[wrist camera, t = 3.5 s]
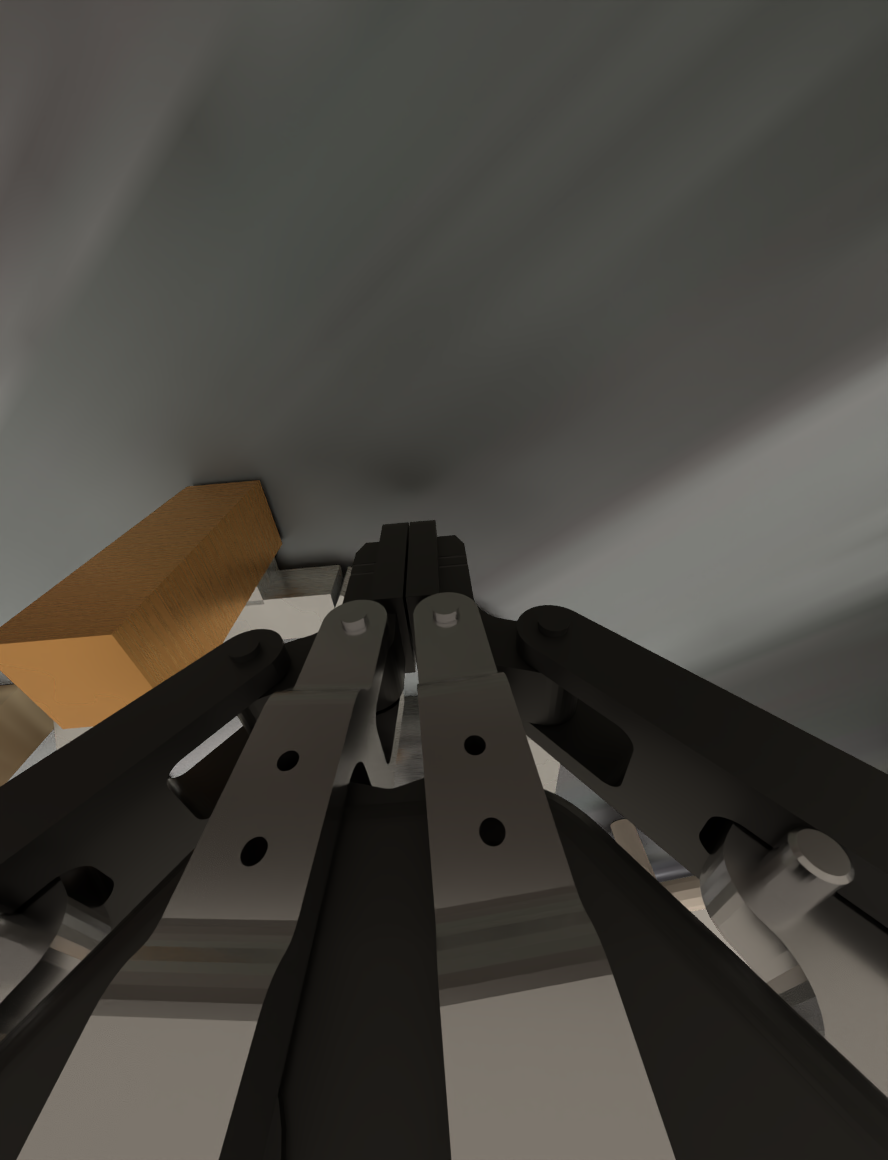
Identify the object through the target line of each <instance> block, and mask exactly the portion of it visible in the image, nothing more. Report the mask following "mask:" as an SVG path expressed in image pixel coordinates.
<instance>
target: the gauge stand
mask: <svg viewBox="0 0 888 1160" xmlns="http://www.w3.org/2000/svg"><path fill="white" fill-rule="evenodd" d="M53 729H54V723H53V720H52V719H51V718H50V717H49V716H48V715H47V714H46V713H45V712H44V711H43V710H42V709H41V708H40V707H39V706H38V705H37V704H35V703H34V702H33V701H32V700H31V699H30V698H29V697H28V696H27V695H26V694H25V693H24V692H23V691H22V690H21V689H19V688H18V687H17V686H16V685H15V684H12V685H1V686H0V786H2V785H4V784H5V783H6V782H7V781H8V780H9V779H10V778H11V777H12V776H13V774H14V773H15V772H16V771H17V770H18V769H19V768H20V766H21V765H22V764H23V763H24V762H25V761H26V760H27V759H28V757H29V756H30V755H31V754H32V753H33V752H34V751H35V749H36V748H37V747H38V746H39V745H40V744H41V743H42V741H43V740H44V739H45V738H46V737H47V736H48V735H49V734H50V732H51V731H52V730H53Z"/></svg>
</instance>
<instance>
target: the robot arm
mask: <svg viewBox="0 0 888 1160" xmlns="http://www.w3.org/2000/svg"><path fill="white" fill-rule="evenodd" d="M415 662H416V663H417V669H418V678H419V684H417V691H418V705H419V717H420V730H421V743H422V755H423V768H424V778H422V779H419V780H416V781H413V782H410V783H408V784H405V785H402V786H399V787H396V788H395V787H394V776H395V766H396V759H397V751H398V744H399V737H400V729H401V722H402V715H403V708H404V694H403V689H404V677H405V673H411V672H415ZM236 716H238V718H239V719H240V721H241V723H242V724H243V726H242V727H241V728H240V729H239V730H238V731H236V732H235V733H234V734H233V735H231V736H230V737H229V738H228V739H227V740H225V741H224V742H223V743H222V744H220V745H219V746H218V747H217V748H216V749H214V750H213V751H212V752H211V753H209V754H208V755H207V756H206V757H205V758H203V759H202V760H201V761H200V762H198V763H197V764H196V765H195V766H194V767H192V768H191V769H190V770H189V771H187V772H186V773H184V774H183V775H181V776H179V777H176V778H168V776H169V773H170V772H171V770H172V769H173V767H174V766H175V765H176V764H177V763H178V762H179V761H180V760H181V759H182V758H184V757H185V756H186V755H187V754H189V753H190V752H191V751H193V750H194V749H195V748H196V747H198V746H199V745H200V744H201V743H203V742H204V741H205V740H206V739H208V738H209V737H210V736H212V735H213V734H214V733H215V732H217V731H218V730H219V729H220V728H222V727H223V726H224V725H225V724H227V723H228V722H229V721H231V720H232V719H233V718H234V717H236ZM526 735H527V736H528V737H529V738H530V739H531V740H533V741H534V742H535V743H536V744H537V745H539V746H540V747H541V748H542V749H543V750H545V751H546V752H547V753H548V754H549V755H551V756H552V757H553V758H554V759H555V760H557V761H558V762H559V763H560V764H561V765H563V766H564V767H565V768H566V769H567V770H569V771H570V772H571V773H572V774H573V775H575V776H576V777H577V778H578V779H579V780H581V781H582V782H583V783H584V784H585V785H587V786H588V787H589V788H590V789H591V790H593V791H594V792H595V793H596V794H597V795H599V796H600V797H601V798H602V799H603V800H605V801H606V802H607V803H608V804H609V805H611V806H612V807H613V808H614V809H615V810H617V811H618V812H619V813H620V814H621V815H622V816H624V817H625V818H626V819H627V820H628V821H630V822H631V823H632V824H633V825H634V826H636V827H637V828H638V829H639V830H640V831H642V832H643V833H644V834H645V835H646V836H648V837H649V838H650V839H651V840H652V841H654V842H655V843H656V844H657V845H658V846H660V847H661V848H662V849H663V850H664V851H666V852H667V853H668V854H669V855H670V856H672V857H673V858H674V859H675V860H676V861H678V862H679V863H680V864H681V865H682V866H684V867H685V868H686V869H687V870H688V871H690V872H691V873H692V874H693V875H694V876H696V877H697V878H698V879H699V880H700V890H701V895H702V899H703V902H704V905H705V908H706V910H707V912H708V914H709V916H710V918H711V920H712V921H713V923H714V925H715V926H716V928H717V929H718V931H719V932H720V933H721V934H722V936H723V937H724V938H725V940H726V941H727V942H728V943H729V944H730V945H731V946H732V947H733V948H734V949H735V950H736V951H737V952H738V954H739V955H740V956H741V957H742V958H743V959H744V960H745V961H746V963H747V964H748V965H749V966H748V965H747V964H745V963H744V962H743V961H742V960H741V959H740V958H739V957H738V956H737V955H736V954H735V953H734V952H733V951H732V950H731V949H729V948H728V947H727V946H726V945H725V944H724V943H723V942H722V941H721V940H720V939H719V938H718V937H717V936H716V935H715V934H714V933H712V932H711V931H710V930H709V929H708V928H707V927H706V926H705V925H704V924H703V923H702V922H701V921H700V920H698V918H697V917H695V915H693V914H692V913H691V912H690V911H689V910H688V909H687V908H686V907H685V906H684V905H683V904H682V903H681V902H680V901H679V900H678V899H676V898H675V897H674V896H673V895H672V894H671V893H670V892H669V891H668V890H667V889H666V888H665V887H664V886H663V885H662V884H661V883H659V882H658V881H657V880H656V879H655V878H654V877H653V876H652V875H651V874H650V873H649V872H648V871H647V870H646V869H645V868H644V867H642V866H641V865H640V864H639V863H638V862H637V861H636V860H635V859H634V858H633V857H632V856H631V855H630V854H629V853H628V852H627V851H626V850H624V849H623V848H622V847H621V846H620V845H619V844H618V843H617V842H616V841H615V840H614V839H613V838H612V837H611V836H610V835H609V834H607V833H606V832H605V831H604V830H603V829H602V828H601V827H600V826H599V825H598V824H597V823H596V822H595V821H594V820H592V819H591V818H590V817H589V816H588V815H587V814H585V813H584V812H583V811H581V810H580V809H579V808H577V807H576V806H575V805H573V804H572V803H570V802H568V801H567V800H565V799H563V798H562V797H560V796H558V795H556V794H554V793H552V792H550V791H548V790H545V789H543V786H542V783H541V780H540V776H539V773H538V770H537V767H536V764H535V761H534V758H533V755H532V752H531V749H530V746H529V743H528V740H527V737H526ZM0 1160H888V774H886V773H884V772H882V771H880V770H878V769H876V768H874V767H872V766H870V765H869V764H867V763H865V762H863V761H861V760H859V759H857V758H855V757H853V756H851V755H849V754H847V753H845V752H844V751H842V750H840V749H838V748H836V747H834V746H832V745H830V744H828V743H826V742H824V741H822V740H820V739H819V738H817V737H815V736H813V735H811V734H809V733H807V732H805V731H803V730H801V729H799V728H797V727H795V726H794V725H792V724H790V723H788V722H786V721H784V720H782V719H780V718H778V717H776V716H774V715H772V714H770V713H768V712H767V711H765V710H763V709H761V708H759V707H757V706H755V705H753V704H751V703H749V702H747V701H745V700H743V699H742V698H740V697H738V696H736V695H734V694H732V693H730V692H728V691H726V690H724V689H722V688H720V687H718V686H717V685H715V684H713V683H711V682H709V681H707V680H705V679H703V678H701V677H699V676H697V675H695V674H693V673H692V672H690V671H688V670H686V669H684V668H682V667H680V666H678V665H676V664H674V663H672V662H670V661H668V660H667V659H665V658H663V657H661V656H659V655H657V654H655V653H653V652H651V651H649V650H647V649H645V648H643V647H641V646H640V645H638V644H636V643H634V642H632V641H630V640H628V639H626V638H624V637H622V636H620V635H618V634H616V633H615V632H613V631H611V630H609V629H607V628H605V627H603V626H601V625H599V624H597V623H595V622H593V621H591V620H590V619H588V618H586V617H584V616H582V615H580V614H578V613H576V612H574V611H572V610H570V609H567V608H564V607H560V606H553V605H543V606H537V607H533V608H531V609H529V610H527V611H525V612H524V613H523V614H522V615H521V616H520V617H519V619H518V621H513V620H506V619H501V618H496V617H493V616H491V615H489V614H487V613H485V612H483V611H482V610H481V609H480V608H479V607H478V606H477V604H476V603H475V601H474V598H473V592H472V587H471V581H470V575H469V569H468V564H467V558H466V552H465V546H464V543H463V542H462V541H461V540H460V539H459V538H457V537H456V536H455V535H452V536H441V537H437V531H436V521H435V520H429V521H418V522H410V526H409V523H396V524H385V525H383V526H382V531H381V536H380V542H373V543H366V544H365V545H364V546H363V547H362V548H361V549H360V550H359V551H358V552H357V553H356V556H355V559H354V563H353V567H352V570H351V576H350V578H349V581H348V585H347V589H346V592H345V596H344V600H343V603H342V604H341V605H339V606H337V607H336V608H334V609H333V610H331V611H330V612H329V613H328V614H327V615H326V617H325V618H324V620H323V622H322V624H321V626H320V629H319V631H318V632H317V633H315V634H313V635H310V636H307V637H304V638H300V639H297V640H294V641H291V642H288V643H284V642H283V639H282V637H281V636H280V634H278V633H277V632H275V631H273V630H269V629H255V630H250V631H246V632H243V633H241V634H238V635H236V636H234V637H232V638H230V639H229V640H227V641H226V642H224V643H222V644H221V645H219V646H218V647H216V648H215V649H213V650H212V651H210V652H208V653H207V654H205V655H204V656H202V657H201V658H199V659H198V660H196V661H194V662H193V663H191V664H190V665H188V666H187V667H185V668H184V669H182V670H181V671H179V672H177V673H176V674H174V675H173V676H171V677H170V678H168V679H167V680H165V681H163V682H162V683H160V684H159V685H157V686H156V687H154V688H153V689H151V690H149V691H148V692H146V693H145V694H143V695H142V696H140V697H139V698H137V699H136V700H134V701H132V702H131V703H129V704H128V705H126V706H125V707H123V708H122V709H120V710H118V711H117V712H115V713H114V714H112V715H111V716H109V717H108V718H106V719H104V720H103V721H101V722H100V723H98V724H97V725H95V726H94V727H92V728H91V729H89V730H87V731H86V732H84V733H83V734H81V735H80V736H78V737H77V738H75V739H73V740H72V741H70V742H69V743H67V744H66V745H64V746H63V747H61V748H59V749H58V750H56V751H55V752H53V753H52V754H50V755H49V756H47V757H45V758H44V759H42V760H41V761H39V762H38V763H36V764H35V765H33V766H32V767H30V768H28V769H27V770H25V771H24V772H22V773H21V774H19V775H18V776H16V777H14V778H13V779H11V780H10V781H8V782H7V783H5V784H4V785H2V786H0Z"/></svg>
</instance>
